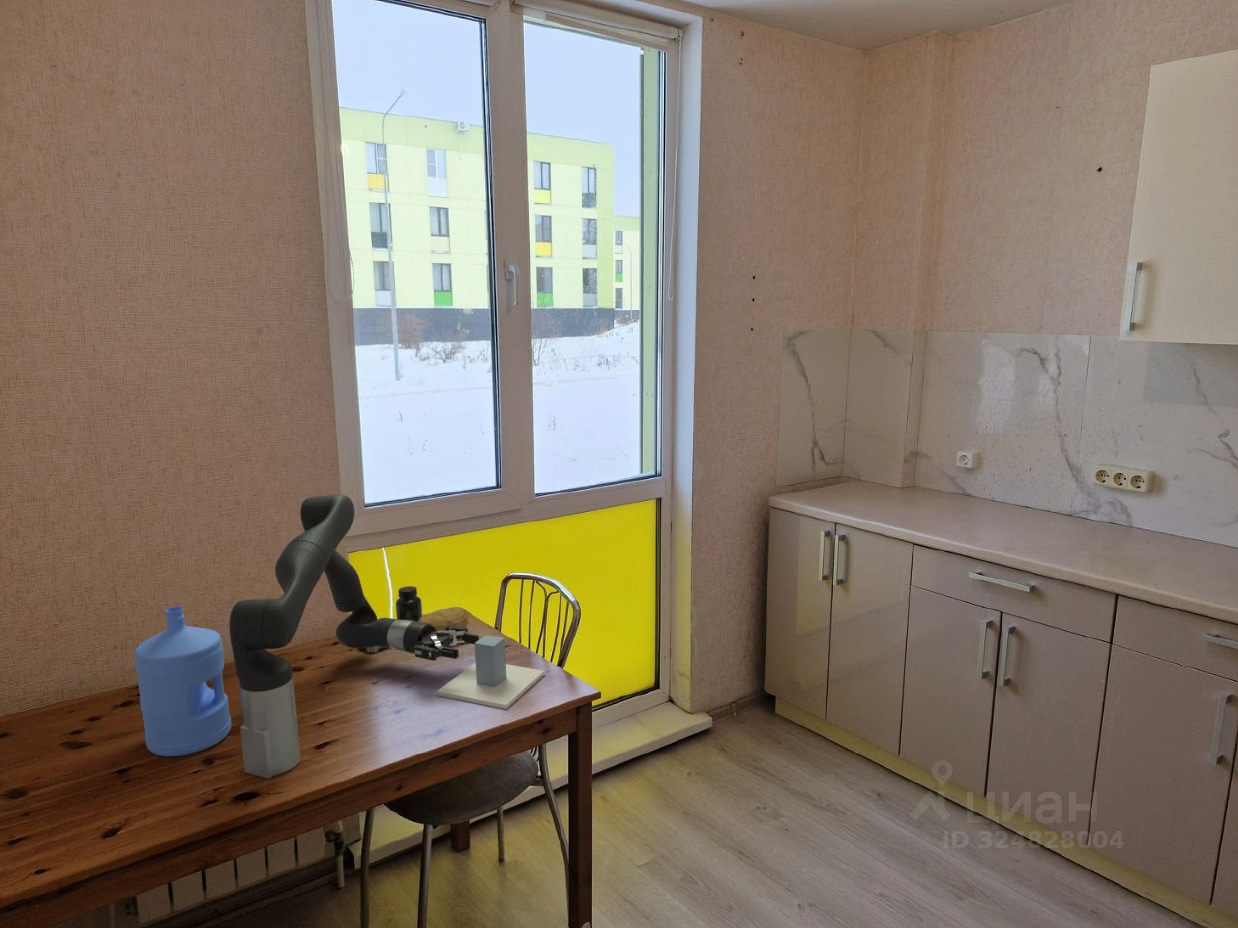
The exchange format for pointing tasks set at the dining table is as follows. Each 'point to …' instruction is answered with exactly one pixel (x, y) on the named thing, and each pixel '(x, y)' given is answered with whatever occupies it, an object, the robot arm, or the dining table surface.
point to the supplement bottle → (408, 604)
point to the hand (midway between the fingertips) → (468, 646)
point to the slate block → (490, 660)
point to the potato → (446, 618)
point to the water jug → (182, 688)
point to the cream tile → (487, 695)
